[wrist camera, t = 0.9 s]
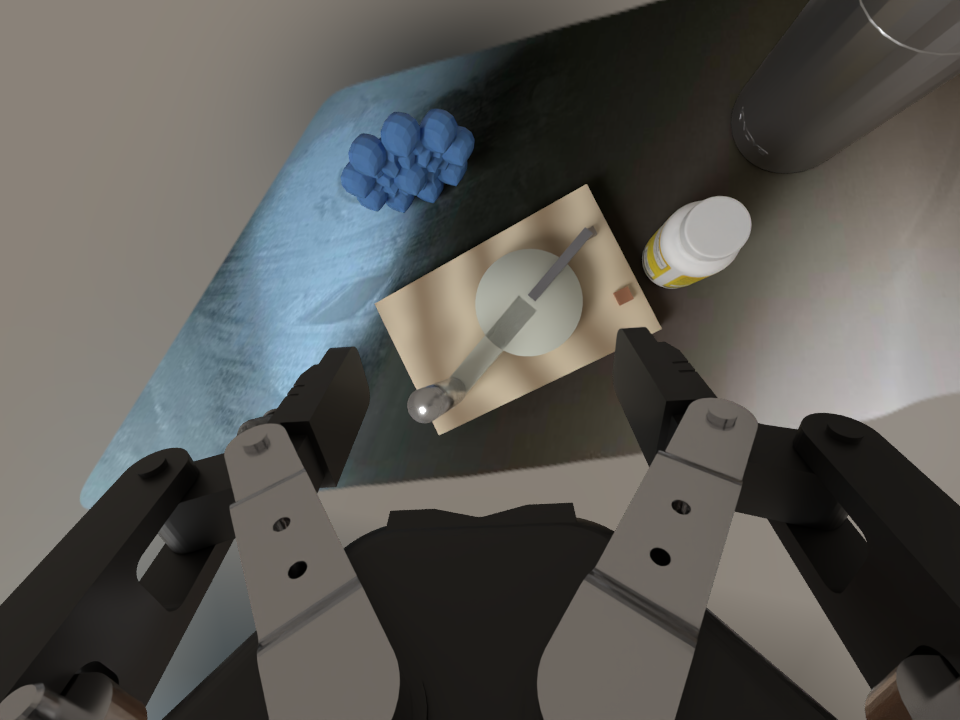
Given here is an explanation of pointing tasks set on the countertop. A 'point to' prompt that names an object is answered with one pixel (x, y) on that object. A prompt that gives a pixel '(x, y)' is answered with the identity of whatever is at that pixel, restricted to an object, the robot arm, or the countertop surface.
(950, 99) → the countertop surface
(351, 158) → the grapes
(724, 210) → the supplement bottle
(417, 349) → the dial base
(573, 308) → the dial
